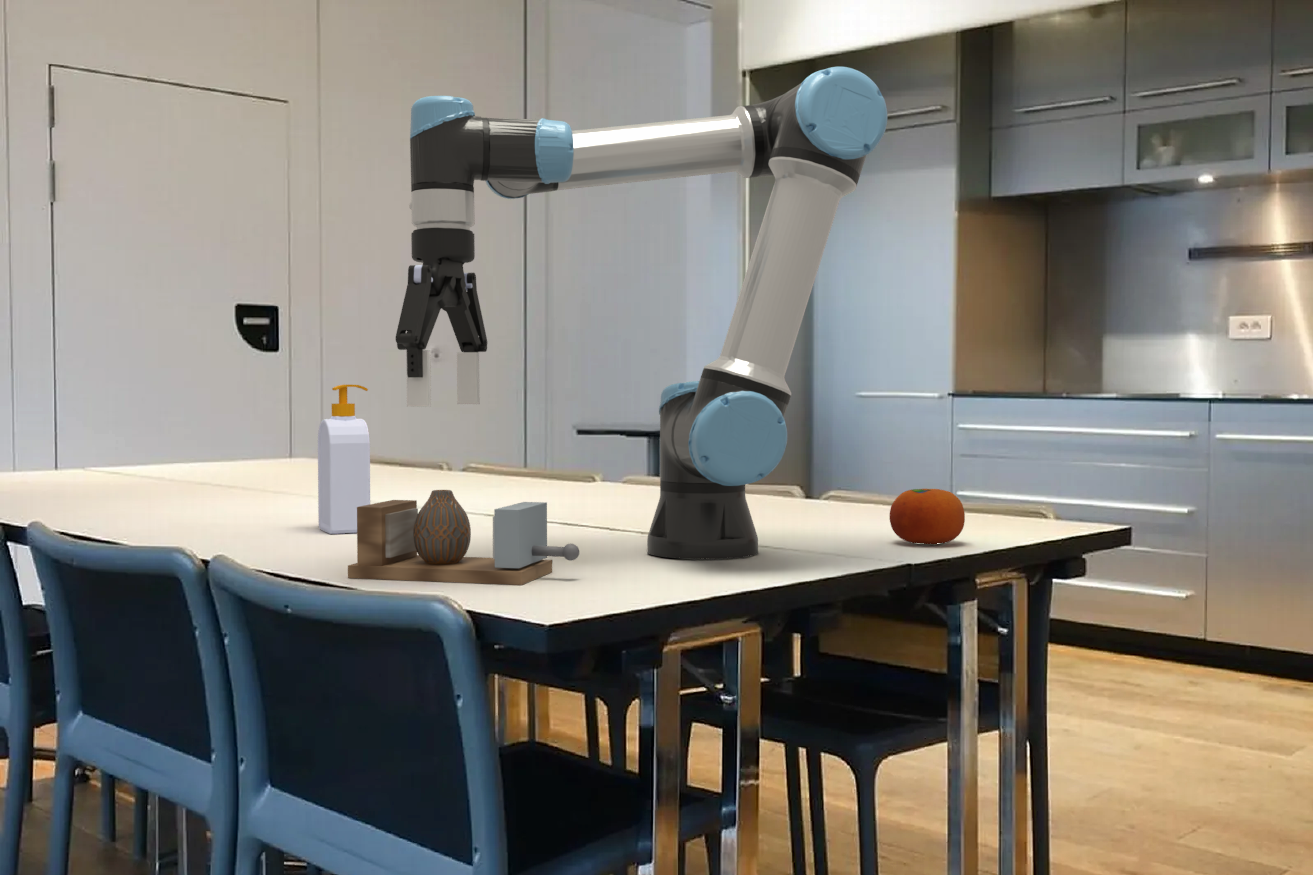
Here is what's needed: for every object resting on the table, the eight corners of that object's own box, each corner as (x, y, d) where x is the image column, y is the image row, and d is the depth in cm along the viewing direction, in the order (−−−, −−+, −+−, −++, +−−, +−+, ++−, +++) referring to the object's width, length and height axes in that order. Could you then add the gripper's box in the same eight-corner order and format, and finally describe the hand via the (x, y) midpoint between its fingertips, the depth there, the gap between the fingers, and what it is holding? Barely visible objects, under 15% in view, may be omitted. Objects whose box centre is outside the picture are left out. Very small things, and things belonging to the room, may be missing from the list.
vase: (416, 558, 170) (415, 488, 170) (472, 558, 171) (471, 488, 170) (410, 566, 163) (410, 492, 163) (469, 565, 164) (469, 492, 163)
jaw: (591, 559, 167) (591, 503, 167) (565, 570, 158) (565, 511, 157) (519, 556, 170) (519, 501, 169) (489, 567, 160) (489, 509, 160)
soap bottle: (375, 532, 212) (374, 384, 211) (330, 534, 209) (329, 384, 208) (361, 527, 220) (360, 384, 219) (318, 529, 217) (316, 384, 216)
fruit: (940, 539, 205) (941, 485, 205) (977, 547, 195) (978, 491, 195) (876, 541, 202) (877, 487, 202) (911, 549, 192) (911, 493, 192)
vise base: (552, 572, 169) (552, 503, 169) (521, 585, 158) (521, 511, 158) (388, 565, 175) (387, 499, 174) (347, 577, 164) (347, 507, 164)
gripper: (458, 239, 178) (460, 403, 179) (363, 218, 154) (365, 407, 155) (512, 237, 176) (513, 403, 177) (424, 216, 152) (426, 407, 153)
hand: (444, 405), depth 166 cm, fingers open, 13 cm apart
